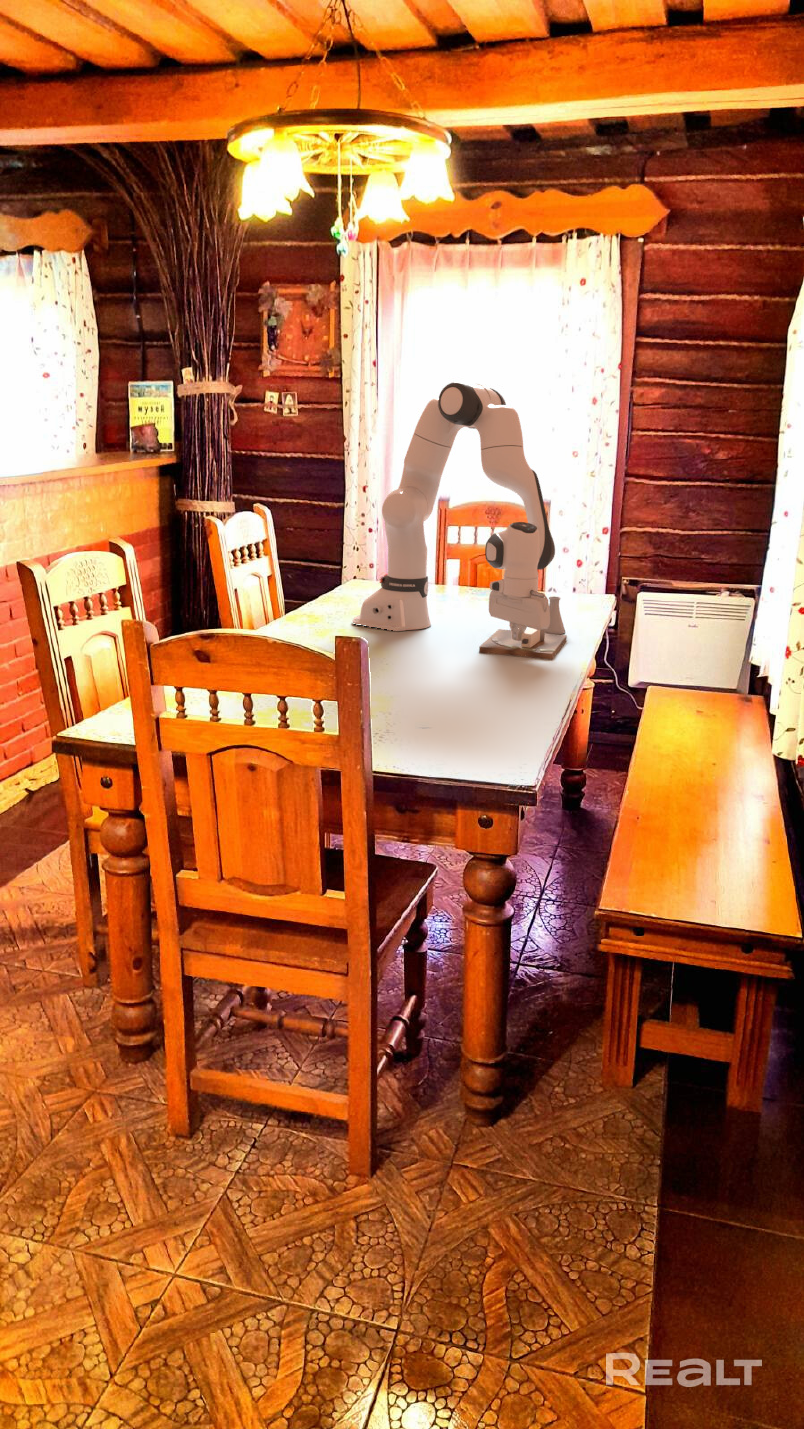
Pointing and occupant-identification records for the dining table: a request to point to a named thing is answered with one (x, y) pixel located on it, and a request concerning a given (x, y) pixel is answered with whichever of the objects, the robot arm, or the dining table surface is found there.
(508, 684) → the dining table surface
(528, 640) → the peg lever
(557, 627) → the flask
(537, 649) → the board
